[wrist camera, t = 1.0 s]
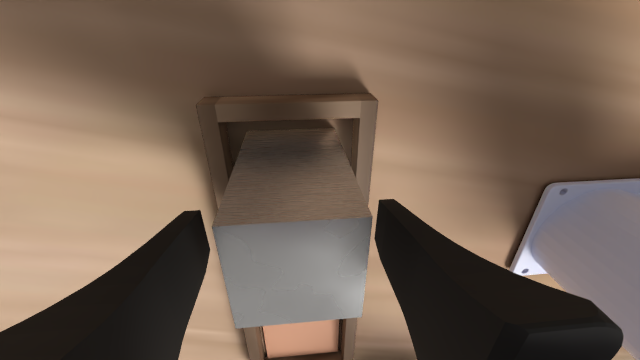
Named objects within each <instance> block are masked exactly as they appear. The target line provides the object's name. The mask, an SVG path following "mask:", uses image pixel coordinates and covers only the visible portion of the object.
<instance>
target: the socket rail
mask: <svg viewBox="0 0 640 360" xmlns="http://www.w3.org/2000/svg"><path fill="white" fill-rule="evenodd" d="M196 108H197V112H198V117H199V122H200V126H201V131H202V136H203V141H204V145H205V150H206V155H207V159H208V164H209V169H210V174H211V178H212V183H213V188H214V192H215V197H216V202H217V207H218V209H219V206H220V204H221V201H222V198H223V195H224V193H225V190H226V187H227V184H228V182H229V179H230V176H231V174H232V171H233V163H232V157H231V151H230V145H229V139H228V133H227V127H226V122H242V121H274V120H307V119H340V118H353V134H352V152H351V168H352V170H353V173H354V175H355V177H356V180H357V182H358V184H359V187H360V189H361V191H362V194H363V196H364V198H365V201H366V203H367V205H368V202H369V191H370V181H371V171H372V160H373V150H374V139H375V129H376V119H377V108H378V100H377V99H376V98H375V97H374V96H373V95H372V94H371V93H361V94H318V95H275V96H233V97H204V98H203V99H202V100H201V101H200V102H199V103H198V104H197V105H196ZM356 326H357V318H346V319H342V330H341V347H340V350H338V333H339V319H336V320H325V321H314V322H303V323H292V324H281V325H270V326H263V331H264V337H265V344H266V350H267V356H268V357H265V355H264V349H263V343H262V337H261V331H260V326H259V327H248V328H243V329H244V334H245V339H246V343H247V348H248V353H249V357H250V360H353V357H354V347H355V336H356Z"/></svg>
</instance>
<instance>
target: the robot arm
mask: <svg viewBox="0 0 640 360" xmlns="http://www.w3.org/2000/svg"><path fill="white" fill-rule="evenodd" d="M375 242H376V246H377V249H378V253H379V256H380V260H381V262H382V265H383V267H384V269H385V272H386V274H387V276H388V279H389V281H390V283H391V286H392V288H393V290H394V293H395V295H396V297H397V300H398V302H399V304H400V307H401V309H402V312H403V314H404V317H405V320H406V323H407V326H408V330H409V333H410V336H411V339H412V342H413V346H414V349H415V352H416V356H417V359H418V360H611V359H612V358H613V357H614V356H615V355H616V353H617V352H618V351H619V349H620V348H621V346H623V347H624V348H625V349H626V350H627V351H628V352H629V353H630V354H631V355H632V356H633V357H634V358H635V359H636V360H640V178H636V179H617V180H598V181H578V182H559V183H552V184H550V185H548V186H547V187H546V188H545V190H544V192H543V194H542V197H541V199H540V201H539V204H538V206H537V208H536V210H535V213H534V215H533V217H532V219H531V222H530V224H529V226H528V228H527V231H526V233H525V235H524V237H523V240H522V242H521V244H520V246H519V249H518V251H517V253H516V255H515V258H514V260H513V262H512V264H511V267H510V270H507V269H504V268H502V267H500V266H498V265H496V264H494V263H492V262H489V261H487V260H485V259H483V258H481V257H480V256H478V255H476V254H474V253H472V252H470V251H469V250H467V249H465V248H463V247H461V246H460V245H458V244H456V243H455V242H453V241H451V240H450V239H448V238H447V237H445V236H444V235H442V234H441V233H439V232H438V231H436V230H435V229H433V228H432V227H430V226H429V225H428V224H426V223H425V222H424V221H422V220H421V219H419V218H418V217H417V216H415V215H414V214H413V213H412V212H410V211H409V210H408V209H406V208H405V207H404V206H402V205H401V204H400V203H398V202H397V201H395V200H394V199H387V200H379V205H378V214H377V222H376V231H375ZM209 253H210V247H209V243H208V239H207V235H206V231H205V227H204V223H203V219H202V215H201V211H200V210H196V211H184V212H183V213H181V214H180V215H179V216H177V217H176V218H175V219H174V220H173V221H171V222H170V223H169V224H168V225H167V226H166V227H164V228H163V229H162V230H161V231H160V232H159V233H157V234H156V235H155V236H154V237H153V238H151V239H150V240H149V241H148V242H147V243H145V244H144V245H143V246H141V247H140V248H139V249H138V250H136V251H135V252H134V253H132V254H131V255H130V256H128V257H127V258H126V259H125V260H123V261H122V262H121V263H119V264H118V265H116V266H115V267H114V268H112V269H111V270H109V271H108V272H106V273H105V274H103V275H102V276H100V277H99V278H97V279H96V280H94V281H93V282H91V283H90V284H88V285H86V286H85V287H83V288H81V289H80V290H78V291H76V292H75V293H73V294H71V295H69V296H68V297H66V298H64V299H63V300H61V301H59V302H57V303H56V304H54V305H52V306H50V307H49V308H47V309H45V310H43V311H41V312H39V313H37V314H35V315H34V316H32V317H30V318H28V319H26V320H24V321H22V322H20V323H18V324H16V325H14V326H12V327H10V328H8V329H6V330H4V331H2V332H0V360H178V358H179V353H180V349H181V345H182V341H183V337H184V334H185V331H186V328H187V325H188V322H189V319H190V316H191V313H192V310H193V308H194V305H195V302H196V299H197V296H198V293H199V290H200V288H201V285H202V282H203V279H204V276H205V273H206V268H207V263H208V258H209ZM546 273H548V274H549V275H550V276H551V277H552V278H553V279H554V280H555V281H556V282H557V283H558V284H559V285H560V286H561V287H562V288H563V289H564V290H565V291H566V292H564V291H561V290H558V289H555V288H552V287H549V286H546V285H544V284H541V283H538V282H536V281H533V280H531V279H528V278H526V277H523V276H521V275H534V274H546Z"/></svg>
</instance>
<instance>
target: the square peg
mask: <svg viewBox="0 0 640 360" xmlns="http://www.w3.org/2000/svg"><path fill="white" fill-rule="evenodd" d="M371 227H372V215H371V212H370V210H369V208H368V205H367V203H366V201H365V198H364V196H363V194H362V191H361V189H360V187H359V184H358V182H357V180H356V177H355V175H354V173H353V170H352V168H351V166H350V163H349V161H348V159H347V156H346V154H345V152H344V149H343V147H342V145H341V143H340V140H339V138H338V136H337V133H336V131H335V129H334V128H322V129H292V130H262V131H247V133H246V135H245V138H244V141H243V144H242V146H241V149H240V152H239V154H238V157H237V160H236V163H235V165H234V168H233V171H232V174H231V176H230V179H229V182H228V184H227V187H226V190H225V193H224V195H223V198H222V201H221V204H220V206H219V209H218V212H217V214H216V217H215V220H214V223H213V225H212V229H213V233H214V237H215V242H216V246H217V250H218V255H219V259H220V263H221V268H222V272H223V276H224V280H225V285H226V289H227V293H228V298H229V302H230V306H231V310H232V315H233V319H234V323H235V328H236V329H237V328H248V327H259V326H270V325H281V324H292V323H303V322H314V321H325V320H336V319H346V318H357V317H362V310H363V301H364V292H365V282H366V273H367V264H368V254H369V245H370V236H371Z"/></svg>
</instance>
